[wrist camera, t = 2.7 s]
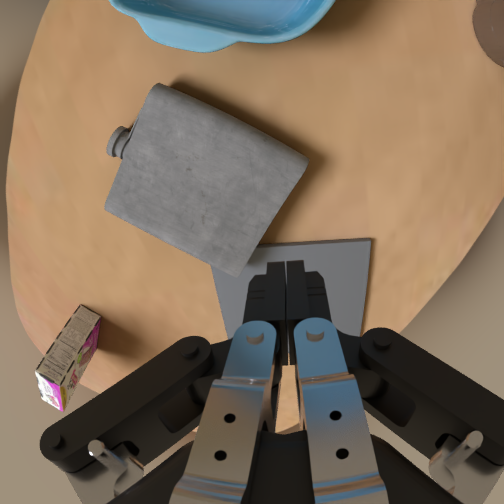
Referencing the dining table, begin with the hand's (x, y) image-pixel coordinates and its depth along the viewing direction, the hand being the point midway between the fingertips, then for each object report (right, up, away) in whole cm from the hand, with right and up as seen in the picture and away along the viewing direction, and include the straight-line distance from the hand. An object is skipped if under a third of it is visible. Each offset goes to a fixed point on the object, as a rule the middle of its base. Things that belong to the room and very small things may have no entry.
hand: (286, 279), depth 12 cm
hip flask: (+1, +5, +20) cm, 21 cm away
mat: (+4, -6, +28) cm, 29 cm away
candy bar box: (-32, -13, +36) cm, 50 cm away
